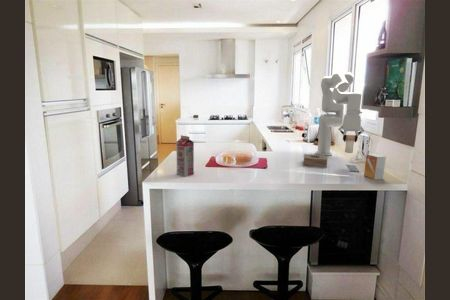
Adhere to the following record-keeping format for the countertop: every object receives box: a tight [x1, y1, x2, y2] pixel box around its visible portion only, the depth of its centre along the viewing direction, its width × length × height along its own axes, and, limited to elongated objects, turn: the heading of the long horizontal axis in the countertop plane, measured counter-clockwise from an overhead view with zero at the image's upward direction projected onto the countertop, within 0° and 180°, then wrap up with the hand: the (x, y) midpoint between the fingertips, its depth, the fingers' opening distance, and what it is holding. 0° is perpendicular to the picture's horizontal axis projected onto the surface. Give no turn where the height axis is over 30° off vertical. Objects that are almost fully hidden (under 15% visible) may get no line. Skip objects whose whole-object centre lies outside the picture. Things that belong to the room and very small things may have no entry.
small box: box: [363, 153, 387, 180], centre depth 163 cm, size 8×6×13 cm
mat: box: [346, 164, 360, 173], centre depth 184 cm, size 16×12×1 cm
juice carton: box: [176, 135, 195, 178], centre depth 159 cm, size 7×7×22 cm
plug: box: [344, 134, 356, 154], centre depth 180 cm, size 6×6×11 cm
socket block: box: [303, 153, 328, 169], centre depth 188 cm, size 14×14×6 cm
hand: (349, 141), depth 180 cm, fingers closed on plug, 5 cm apart
